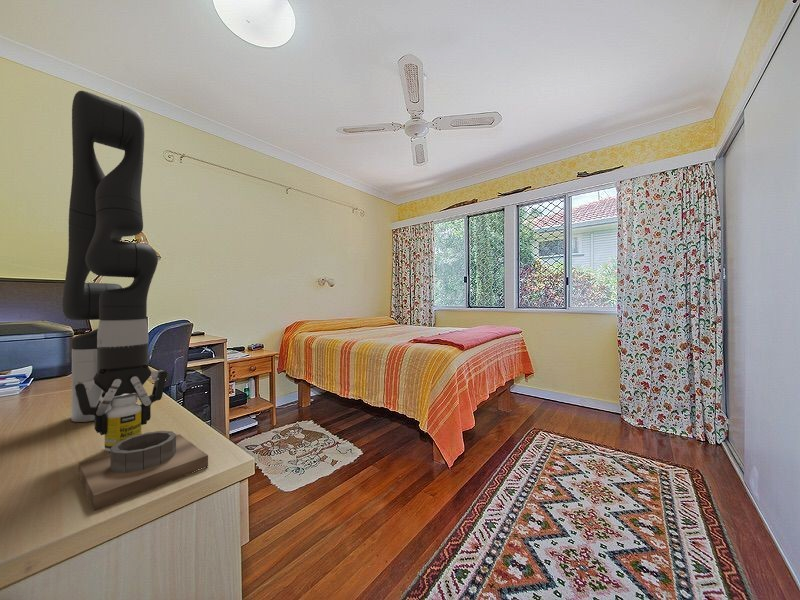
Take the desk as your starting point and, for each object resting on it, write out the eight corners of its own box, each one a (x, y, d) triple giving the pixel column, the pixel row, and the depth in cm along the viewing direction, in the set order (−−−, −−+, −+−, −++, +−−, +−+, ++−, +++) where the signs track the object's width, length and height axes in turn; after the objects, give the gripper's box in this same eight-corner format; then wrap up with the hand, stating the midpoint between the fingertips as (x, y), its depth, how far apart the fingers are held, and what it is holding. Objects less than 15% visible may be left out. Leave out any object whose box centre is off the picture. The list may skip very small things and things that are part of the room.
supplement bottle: (119, 453, 58) (119, 401, 58) (96, 451, 59) (97, 399, 59) (148, 441, 63) (148, 392, 63) (127, 438, 64) (127, 391, 64)
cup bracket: (78, 475, 51) (78, 444, 51) (179, 444, 62) (179, 419, 62) (93, 510, 42) (93, 473, 42) (208, 466, 53) (208, 437, 53)
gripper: (162, 338, 69) (162, 414, 69) (68, 345, 58) (68, 436, 58) (173, 340, 65) (173, 421, 64) (73, 348, 53) (73, 447, 53)
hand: (123, 428), depth 61 cm, fingers closed on supplement bottle, 5 cm apart
